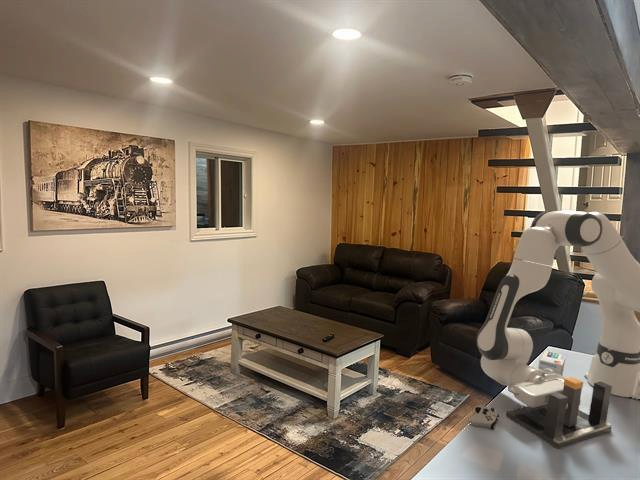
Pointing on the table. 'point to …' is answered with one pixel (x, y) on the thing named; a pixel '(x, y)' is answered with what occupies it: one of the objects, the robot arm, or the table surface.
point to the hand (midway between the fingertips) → (573, 404)
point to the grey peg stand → (551, 418)
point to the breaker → (572, 399)
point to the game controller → (484, 417)
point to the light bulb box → (552, 362)
